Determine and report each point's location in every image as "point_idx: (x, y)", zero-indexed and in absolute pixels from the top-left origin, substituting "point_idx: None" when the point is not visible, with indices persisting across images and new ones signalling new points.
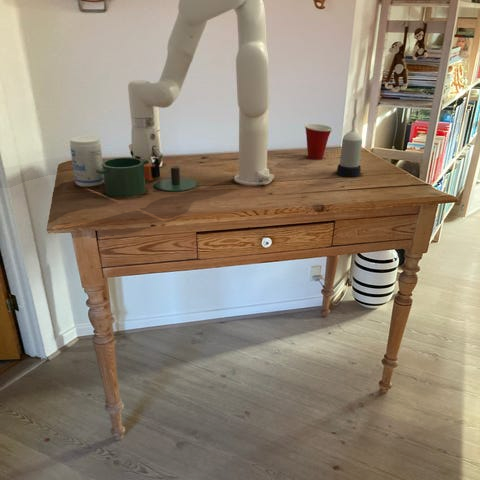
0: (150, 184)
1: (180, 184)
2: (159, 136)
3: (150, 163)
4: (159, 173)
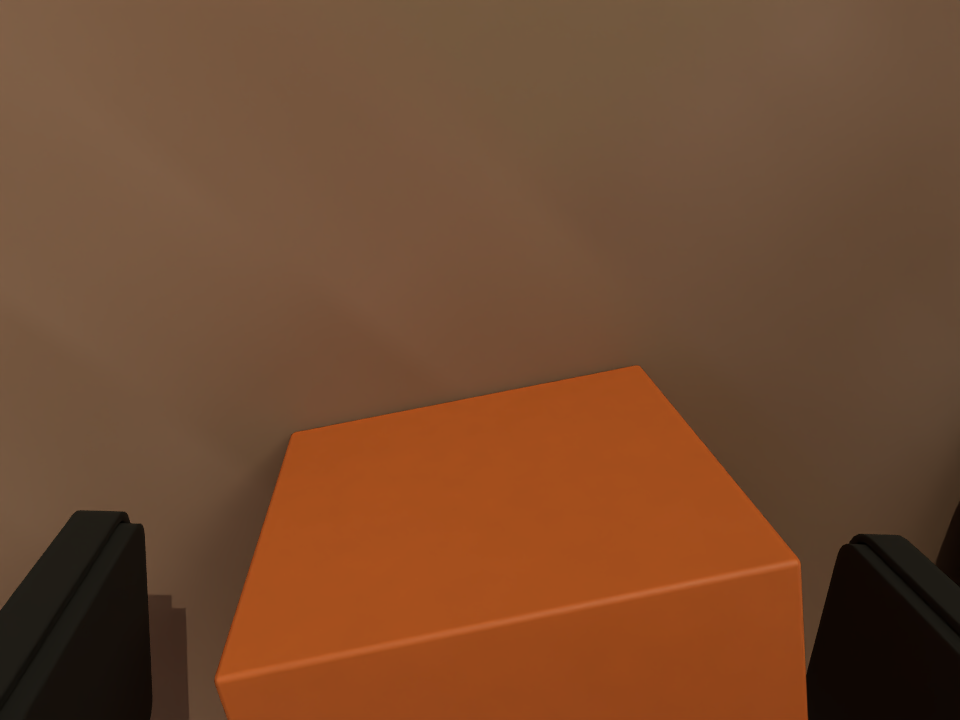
0: None
1: None
2: None
3: (569, 696)
4: (938, 584)
